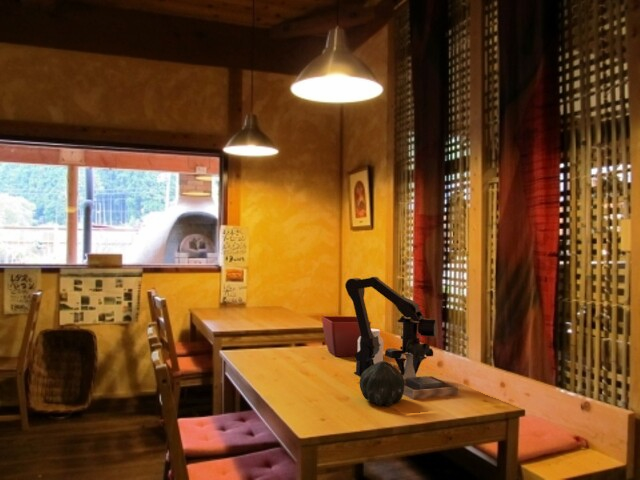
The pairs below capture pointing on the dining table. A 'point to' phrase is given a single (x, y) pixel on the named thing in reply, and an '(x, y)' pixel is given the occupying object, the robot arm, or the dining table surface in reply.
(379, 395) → the squash
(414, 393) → the brown tray
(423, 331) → the robot arm
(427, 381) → the block
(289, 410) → the dining table surface
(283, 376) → the dining table surface
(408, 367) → the flask
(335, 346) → the plant pot
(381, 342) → the jar
